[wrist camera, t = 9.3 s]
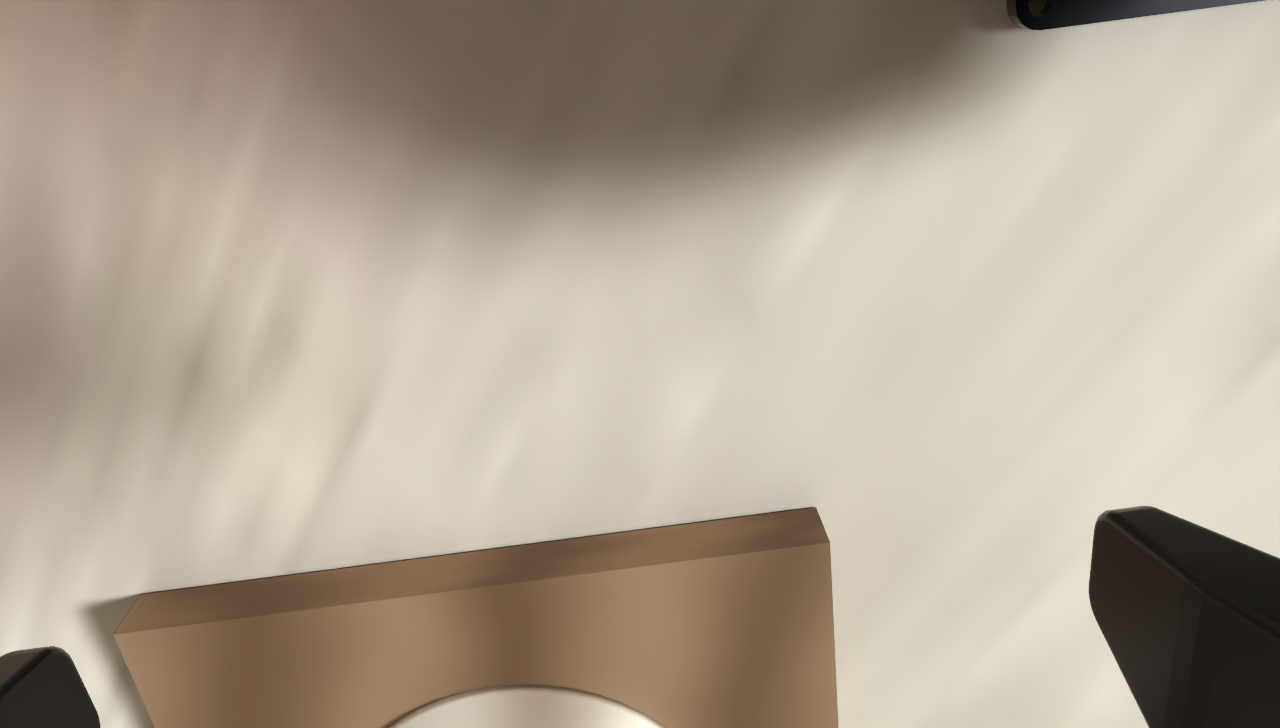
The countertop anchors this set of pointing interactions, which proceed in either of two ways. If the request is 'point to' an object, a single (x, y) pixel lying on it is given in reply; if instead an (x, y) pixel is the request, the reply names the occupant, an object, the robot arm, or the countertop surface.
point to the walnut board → (511, 637)
